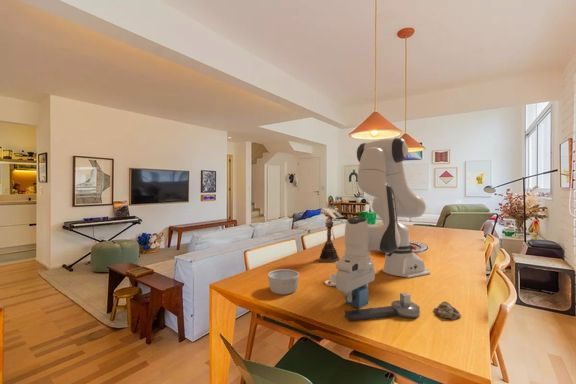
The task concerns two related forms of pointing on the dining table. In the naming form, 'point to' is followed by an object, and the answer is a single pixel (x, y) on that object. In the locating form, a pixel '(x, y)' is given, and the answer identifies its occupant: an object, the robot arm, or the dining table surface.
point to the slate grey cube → (358, 297)
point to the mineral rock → (447, 311)
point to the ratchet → (387, 310)
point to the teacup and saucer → (332, 280)
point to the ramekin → (283, 281)
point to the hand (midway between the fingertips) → (356, 298)
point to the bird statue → (328, 249)
